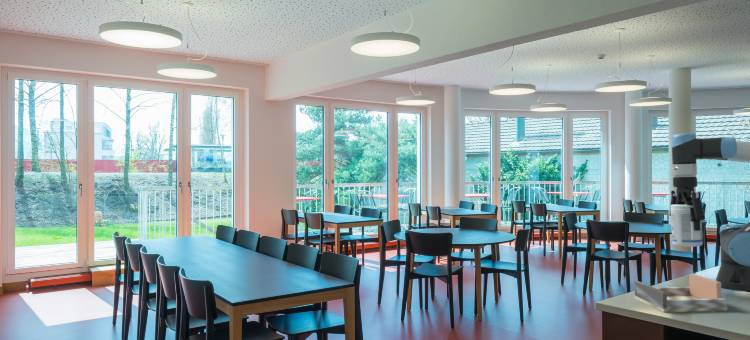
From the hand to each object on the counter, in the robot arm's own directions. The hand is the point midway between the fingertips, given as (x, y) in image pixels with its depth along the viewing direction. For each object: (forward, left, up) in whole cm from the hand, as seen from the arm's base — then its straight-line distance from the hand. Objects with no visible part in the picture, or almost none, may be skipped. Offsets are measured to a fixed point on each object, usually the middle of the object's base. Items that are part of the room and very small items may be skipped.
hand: (686, 237), depth 187 cm
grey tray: (+14, +17, -19) cm, 29 cm away
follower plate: (+5, +17, -18) cm, 25 cm away
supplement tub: (0, 0, -3) cm, 3 cm away
